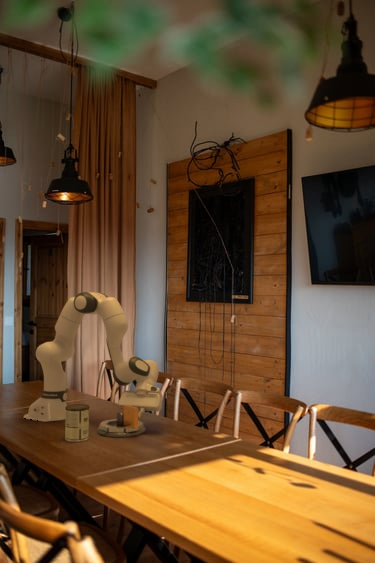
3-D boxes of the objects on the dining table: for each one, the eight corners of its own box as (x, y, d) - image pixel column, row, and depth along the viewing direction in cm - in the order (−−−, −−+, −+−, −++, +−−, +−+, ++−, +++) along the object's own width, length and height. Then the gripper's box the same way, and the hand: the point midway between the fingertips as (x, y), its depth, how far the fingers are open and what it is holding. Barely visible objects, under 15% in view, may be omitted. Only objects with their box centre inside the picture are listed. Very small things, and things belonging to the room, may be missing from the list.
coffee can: (69, 435, 240) (69, 403, 240) (91, 436, 239) (92, 404, 239) (61, 441, 230) (62, 408, 230) (85, 442, 229) (85, 408, 229)
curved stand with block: (92, 426, 249) (93, 402, 250) (127, 420, 261) (128, 398, 261) (117, 436, 232) (117, 410, 232) (153, 429, 244) (154, 405, 244)
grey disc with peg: (88, 435, 240) (88, 416, 241) (109, 424, 261) (109, 406, 262) (134, 439, 234) (134, 419, 234) (152, 428, 255) (152, 409, 255)
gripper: (121, 386, 253) (112, 411, 244) (162, 388, 248) (155, 414, 238) (125, 394, 258) (116, 419, 248) (165, 396, 252) (158, 422, 242)
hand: (135, 417), depth 243 cm, fingers closed
